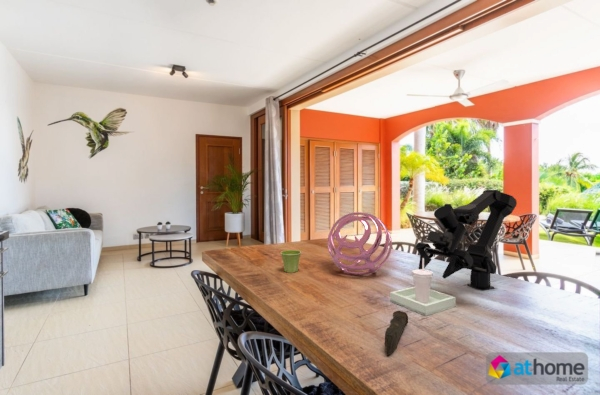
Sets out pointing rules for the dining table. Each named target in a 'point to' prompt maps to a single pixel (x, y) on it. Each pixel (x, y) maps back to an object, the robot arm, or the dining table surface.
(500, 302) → the dining table surface
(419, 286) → the smoothie
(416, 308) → the sage tray
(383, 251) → the pink openwork sphere
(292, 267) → the plant pot
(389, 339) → the hand tool
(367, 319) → the dining table surface
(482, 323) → the dining table surface
